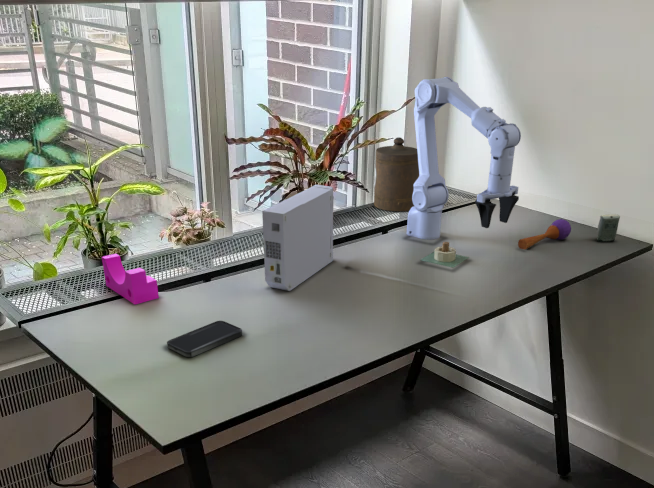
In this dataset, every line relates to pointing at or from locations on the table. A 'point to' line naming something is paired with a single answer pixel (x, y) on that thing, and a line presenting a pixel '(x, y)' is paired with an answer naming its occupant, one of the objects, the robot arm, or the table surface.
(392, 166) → the wooden container
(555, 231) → the maraca
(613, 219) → the grey upright rounded block
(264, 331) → the table surface
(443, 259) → the tape roll
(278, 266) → the game console
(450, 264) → the tape stand
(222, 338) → the phone
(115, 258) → the toy block
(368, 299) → the table surface
